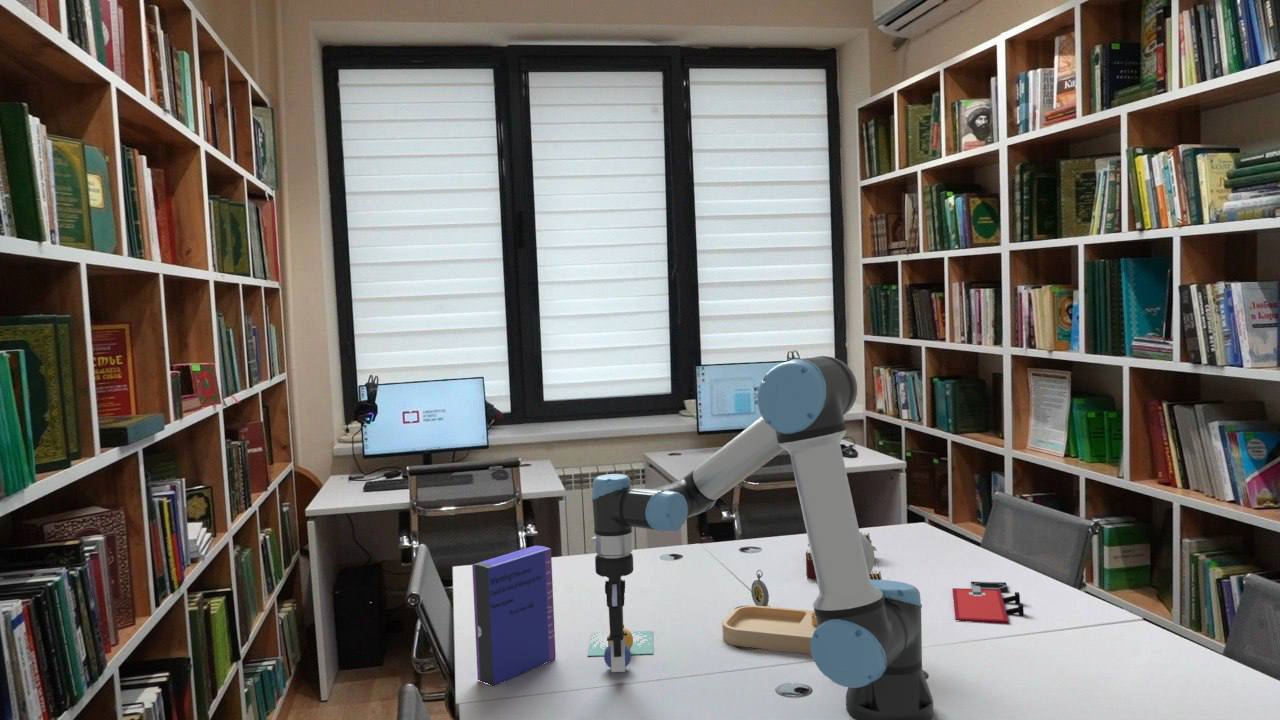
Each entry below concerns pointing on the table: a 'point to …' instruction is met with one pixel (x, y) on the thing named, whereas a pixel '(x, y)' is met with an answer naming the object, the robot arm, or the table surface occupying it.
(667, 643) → the table surface
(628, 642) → the orange ball
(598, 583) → the table surface
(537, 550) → the purple book
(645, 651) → the green mark
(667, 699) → the table surface
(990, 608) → the red board with handle
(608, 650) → the blue ball
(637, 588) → the table surface
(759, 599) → the pocket watch
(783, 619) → the lamp
